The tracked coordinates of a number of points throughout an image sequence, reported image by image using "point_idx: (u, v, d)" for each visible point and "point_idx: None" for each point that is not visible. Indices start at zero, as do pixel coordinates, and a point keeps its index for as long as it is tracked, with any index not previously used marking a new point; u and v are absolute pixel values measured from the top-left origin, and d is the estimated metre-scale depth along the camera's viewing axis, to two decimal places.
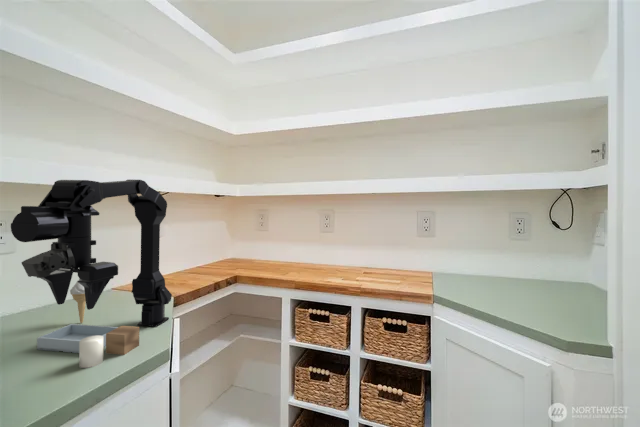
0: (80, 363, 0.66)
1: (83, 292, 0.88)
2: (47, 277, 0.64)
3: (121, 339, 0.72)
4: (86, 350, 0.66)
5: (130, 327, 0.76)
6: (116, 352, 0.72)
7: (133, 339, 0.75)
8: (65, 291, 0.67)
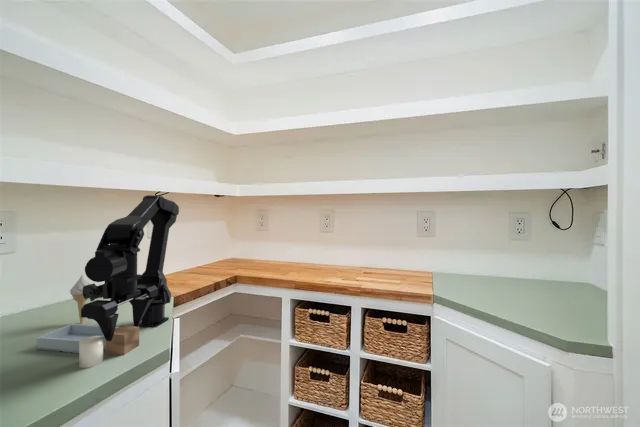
0: (80, 363, 0.66)
1: None
2: (130, 300, 0.80)
3: (121, 339, 0.72)
4: (86, 350, 0.66)
5: (130, 327, 0.76)
6: (116, 352, 0.72)
7: (133, 339, 0.75)
8: (139, 316, 0.79)
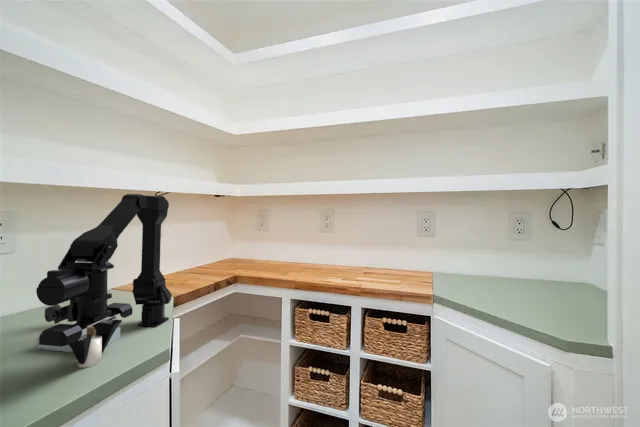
0: None
1: None
2: (93, 324, 0.71)
3: (90, 332, 0.74)
4: None
5: None
6: None
7: None
8: (103, 342, 0.70)
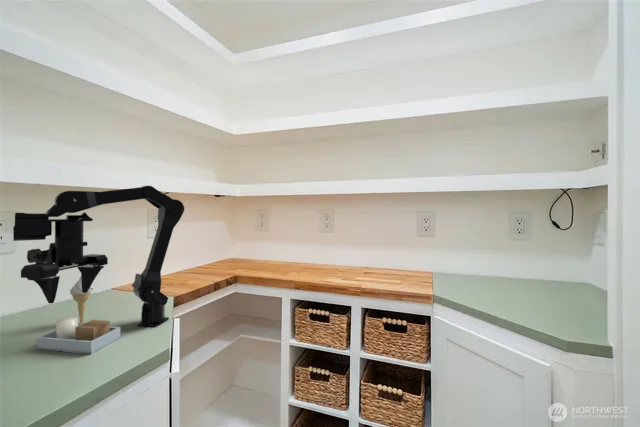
0: None
1: None
2: (79, 268, 0.82)
3: (90, 332, 0.74)
4: (63, 328, 0.75)
5: (100, 321, 0.78)
6: None
7: (103, 332, 0.77)
8: (87, 283, 0.82)
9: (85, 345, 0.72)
